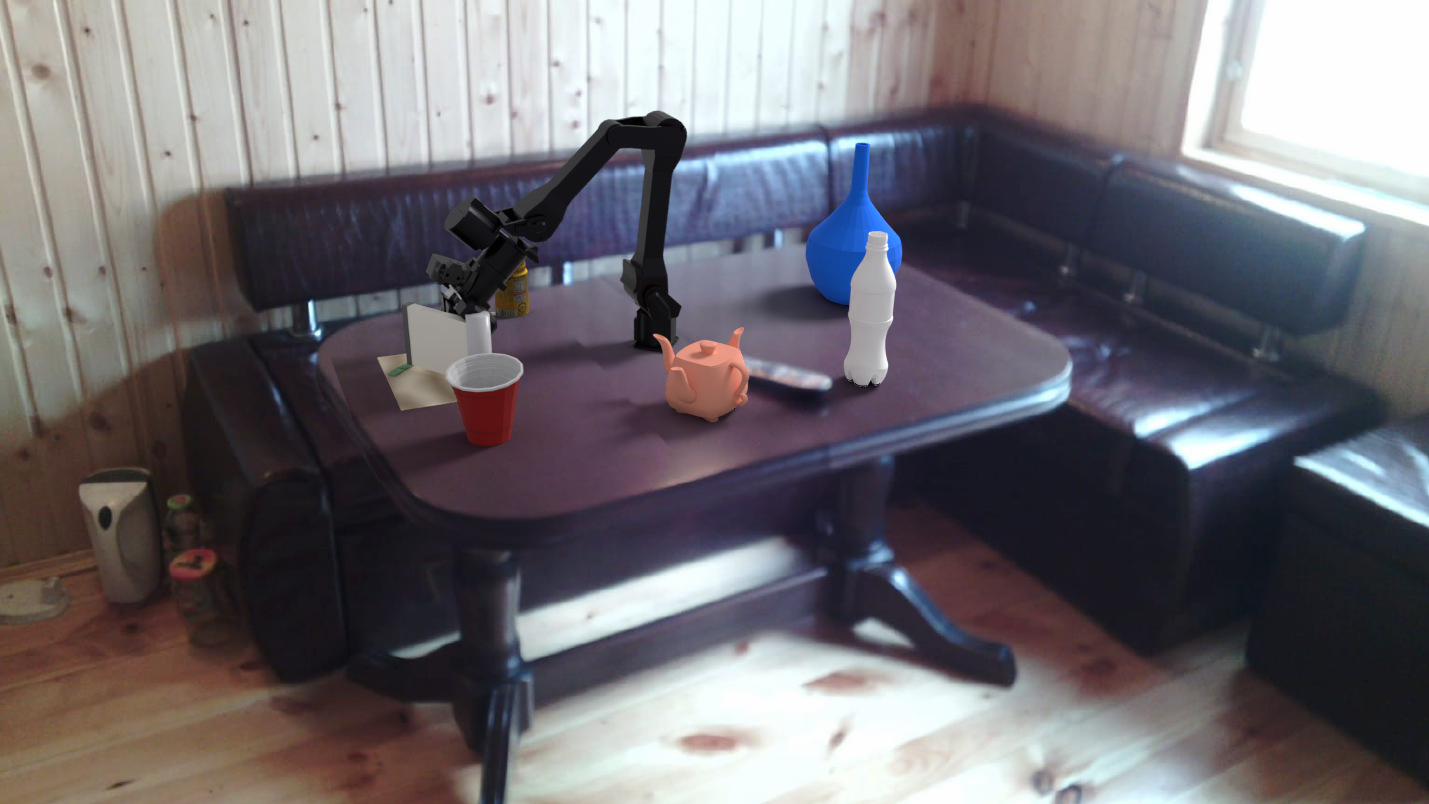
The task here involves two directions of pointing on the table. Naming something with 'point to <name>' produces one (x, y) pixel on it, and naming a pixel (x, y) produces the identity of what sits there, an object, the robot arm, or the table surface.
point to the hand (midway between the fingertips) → (431, 342)
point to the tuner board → (415, 384)
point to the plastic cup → (486, 395)
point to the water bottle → (870, 313)
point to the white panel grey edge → (443, 336)
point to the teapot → (705, 377)
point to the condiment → (514, 295)
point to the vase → (848, 237)
